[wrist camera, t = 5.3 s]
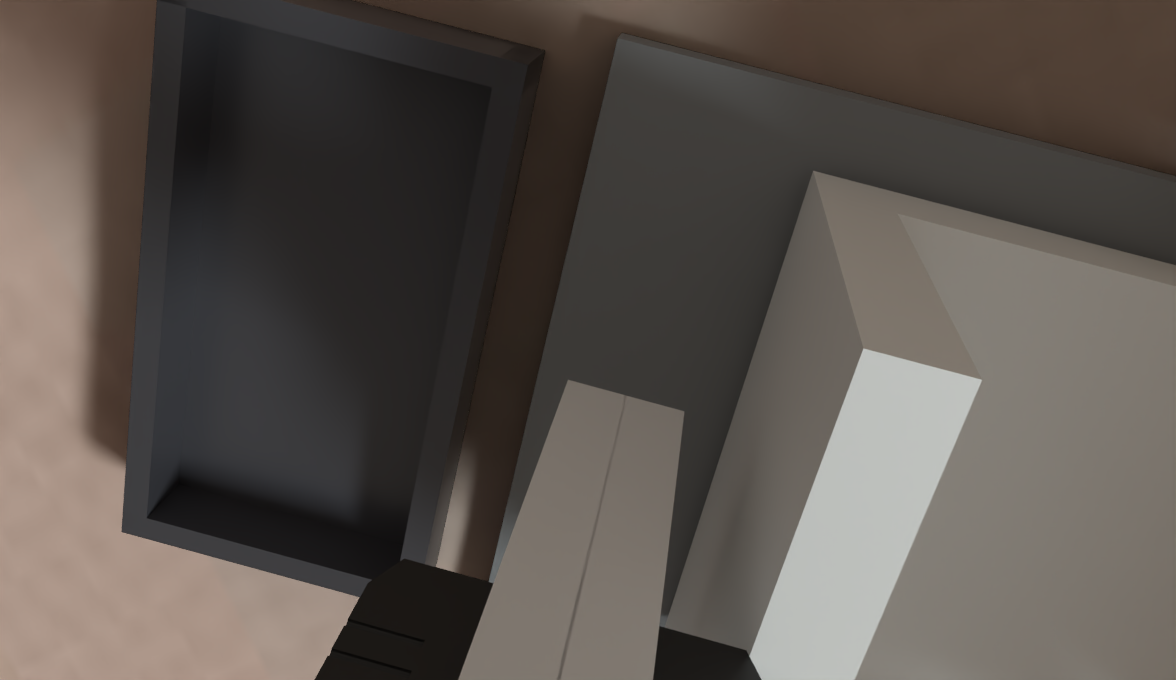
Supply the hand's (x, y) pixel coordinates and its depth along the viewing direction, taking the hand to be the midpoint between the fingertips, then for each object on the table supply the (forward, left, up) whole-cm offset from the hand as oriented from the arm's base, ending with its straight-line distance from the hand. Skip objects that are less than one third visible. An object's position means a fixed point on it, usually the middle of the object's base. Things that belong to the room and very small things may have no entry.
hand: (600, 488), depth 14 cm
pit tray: (-5, 0, -4) cm, 6 cm away
